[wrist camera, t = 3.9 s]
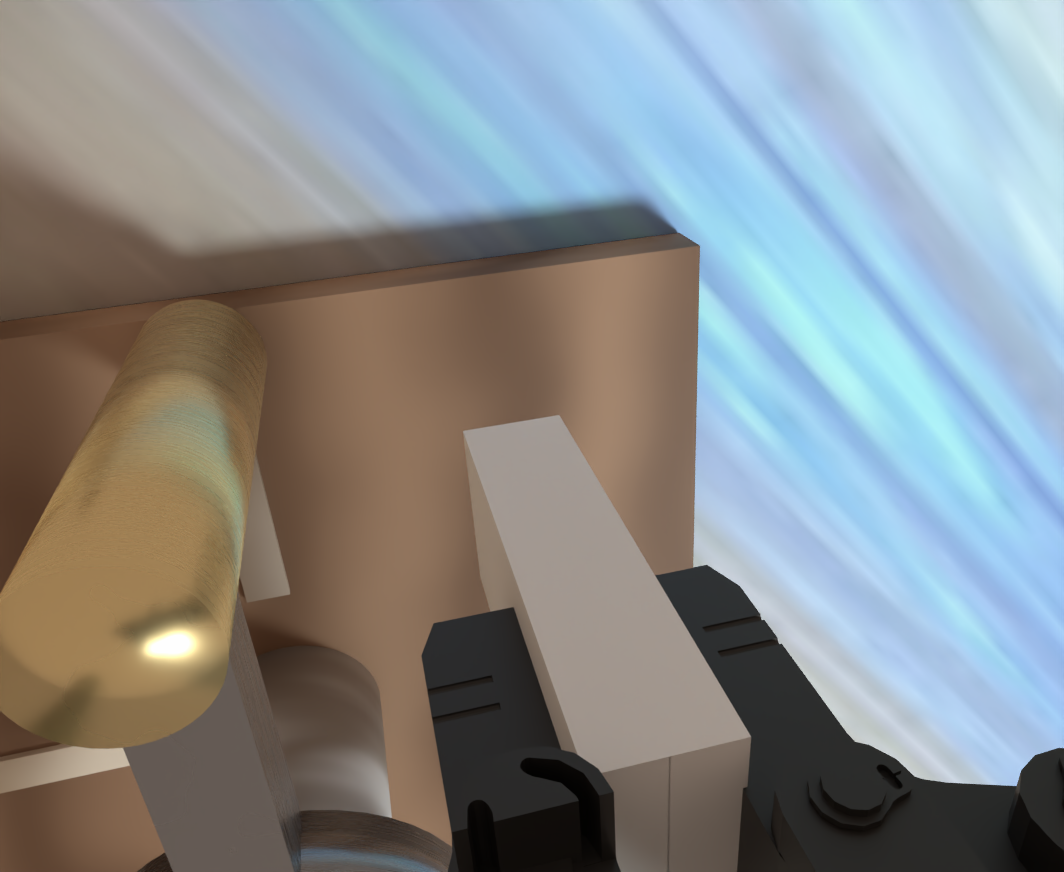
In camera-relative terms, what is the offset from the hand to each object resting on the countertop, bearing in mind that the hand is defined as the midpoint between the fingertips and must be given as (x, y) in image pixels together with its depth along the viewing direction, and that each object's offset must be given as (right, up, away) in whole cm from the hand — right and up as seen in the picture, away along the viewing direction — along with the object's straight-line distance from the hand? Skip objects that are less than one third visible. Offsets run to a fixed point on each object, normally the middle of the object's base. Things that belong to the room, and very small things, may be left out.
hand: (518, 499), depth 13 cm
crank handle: (-8, -4, +11) cm, 14 cm away
